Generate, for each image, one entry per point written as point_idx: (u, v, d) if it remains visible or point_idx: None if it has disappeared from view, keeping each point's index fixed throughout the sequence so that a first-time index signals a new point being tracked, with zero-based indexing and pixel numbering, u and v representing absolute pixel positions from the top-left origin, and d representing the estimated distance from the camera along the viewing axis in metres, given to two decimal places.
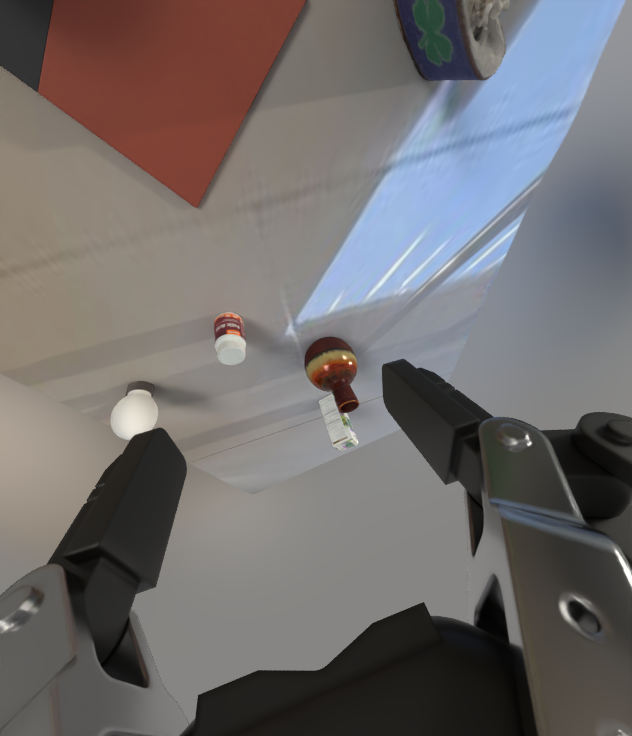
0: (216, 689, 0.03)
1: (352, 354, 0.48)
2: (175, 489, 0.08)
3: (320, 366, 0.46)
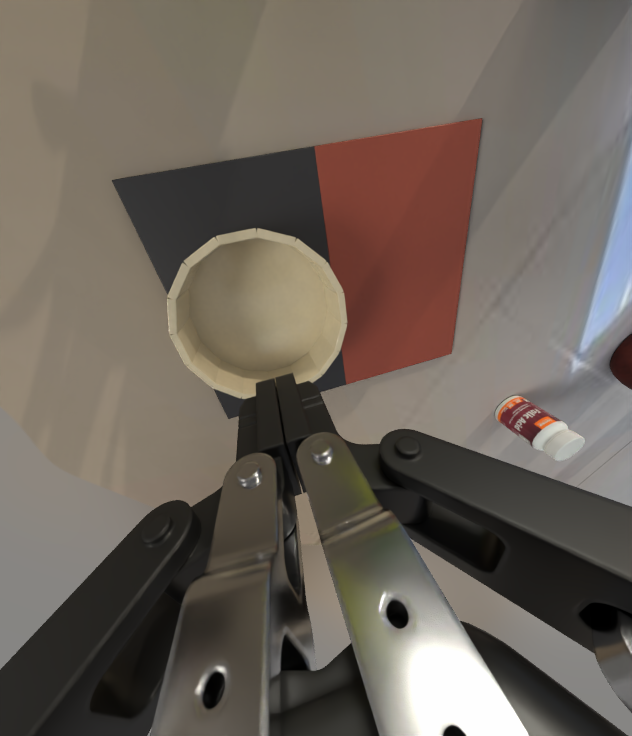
0: None
1: None
2: None
3: None
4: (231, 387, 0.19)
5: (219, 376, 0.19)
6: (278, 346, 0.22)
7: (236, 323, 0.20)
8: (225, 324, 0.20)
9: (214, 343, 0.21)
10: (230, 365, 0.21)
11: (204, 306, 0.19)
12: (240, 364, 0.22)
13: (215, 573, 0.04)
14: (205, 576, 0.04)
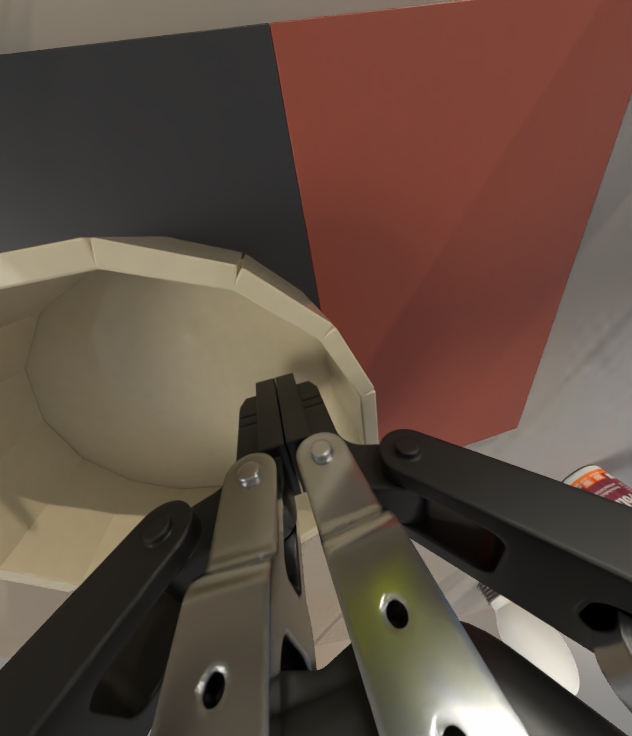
0: None
1: None
2: None
3: None
4: None
5: (105, 546, 0.09)
6: None
7: (152, 421, 0.10)
8: (128, 425, 0.10)
9: (112, 457, 0.11)
10: (151, 488, 0.11)
11: (72, 399, 0.09)
12: (171, 481, 0.12)
13: (215, 573, 0.04)
14: (205, 576, 0.04)
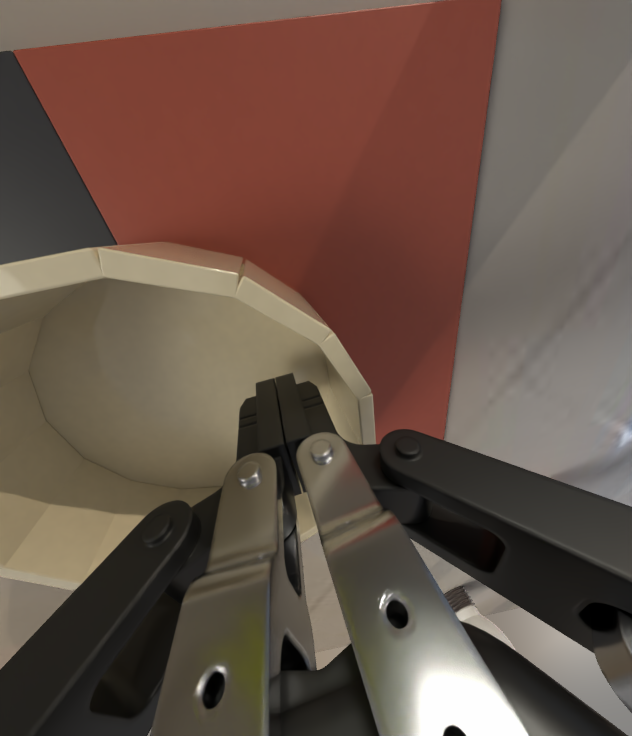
0: None
1: None
2: None
3: None
4: None
5: (107, 545, 0.09)
6: None
7: (153, 423, 0.10)
8: (129, 426, 0.10)
9: (114, 458, 0.11)
10: (151, 489, 0.12)
11: (75, 400, 0.09)
12: (172, 481, 0.12)
13: (215, 573, 0.04)
14: (205, 576, 0.04)
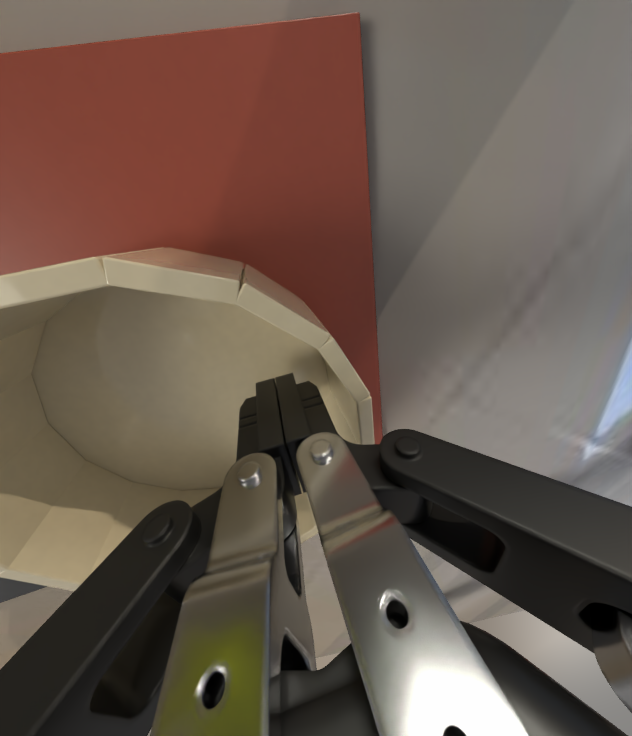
0: None
1: None
2: None
3: None
4: None
5: (109, 546, 0.09)
6: None
7: (154, 425, 0.10)
8: (131, 428, 0.10)
9: (115, 459, 0.11)
10: (152, 490, 0.12)
11: (77, 403, 0.09)
12: (173, 483, 0.12)
13: (215, 573, 0.04)
14: (205, 576, 0.04)
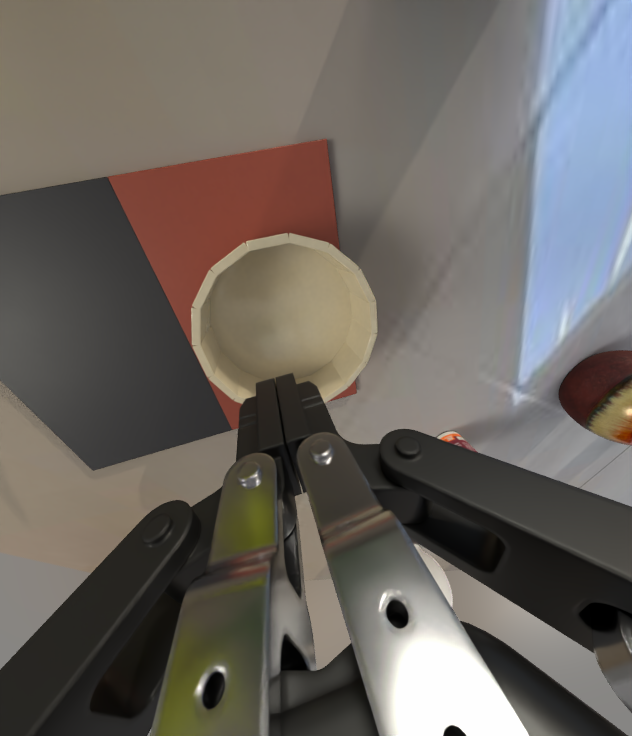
0: None
1: None
2: None
3: (628, 422, 0.26)
4: None
5: (240, 387, 0.18)
6: (300, 355, 0.21)
7: (258, 332, 0.19)
8: (246, 332, 0.19)
9: (234, 352, 0.20)
10: (250, 375, 0.21)
11: (225, 314, 0.18)
12: (259, 373, 0.21)
13: (215, 573, 0.04)
14: (205, 576, 0.04)
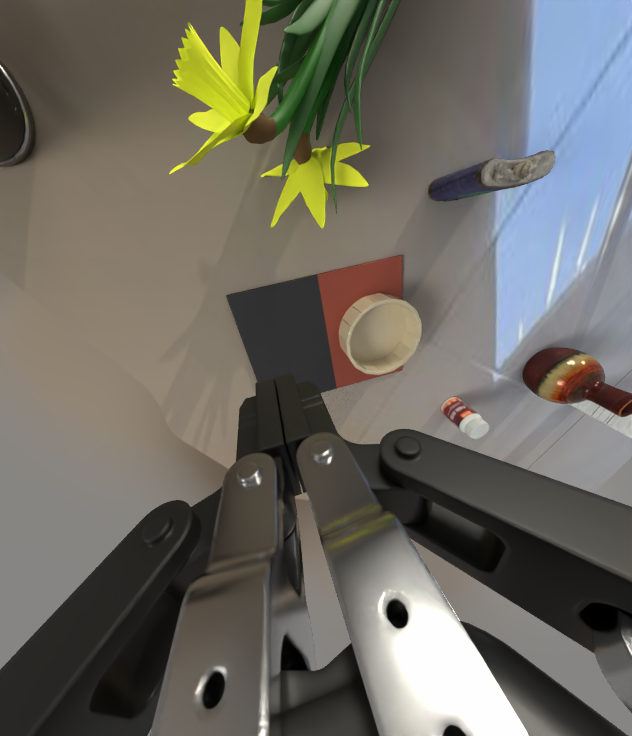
0: None
1: (580, 355, 0.45)
2: None
3: (556, 388, 0.46)
4: (362, 367, 0.38)
5: (355, 362, 0.39)
6: (377, 348, 0.41)
7: (360, 336, 0.40)
8: (355, 336, 0.40)
9: None
10: (353, 357, 0.41)
11: None
12: (357, 357, 0.41)
13: (215, 573, 0.04)
14: (205, 576, 0.04)
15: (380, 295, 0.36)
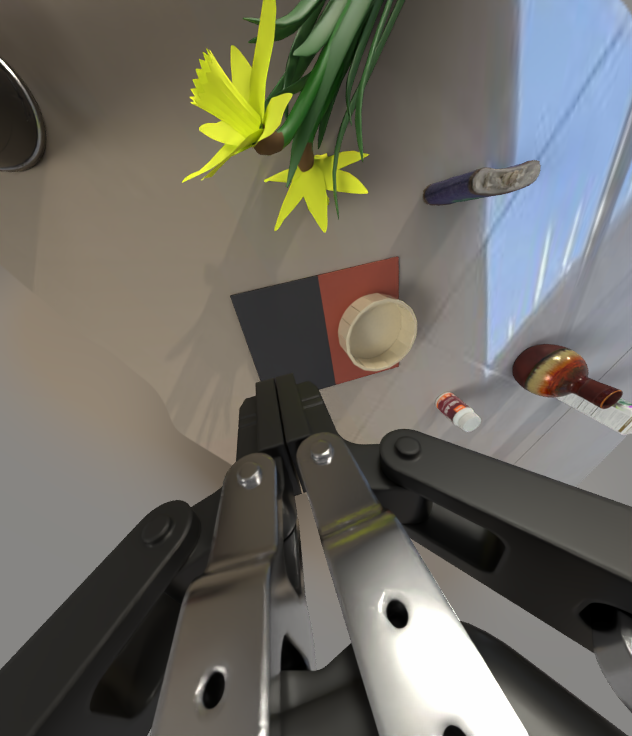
0: None
1: (565, 351, 0.48)
2: None
3: (543, 382, 0.49)
4: (361, 364, 0.40)
5: (354, 359, 0.40)
6: (375, 345, 0.43)
7: (359, 334, 0.41)
8: (354, 334, 0.41)
9: None
10: (352, 355, 0.43)
11: None
12: (356, 354, 0.43)
13: (215, 573, 0.04)
14: (205, 576, 0.04)
15: (378, 295, 0.37)
